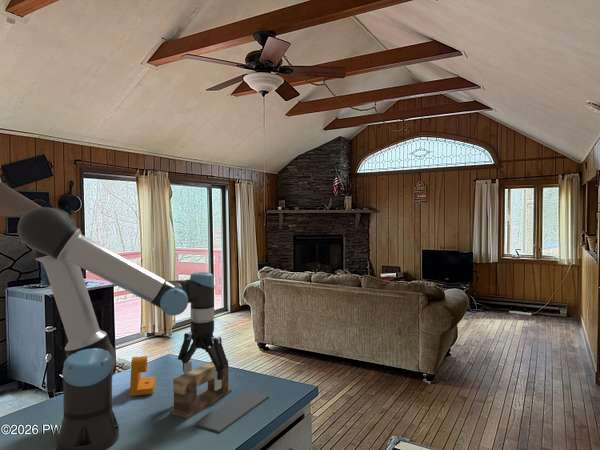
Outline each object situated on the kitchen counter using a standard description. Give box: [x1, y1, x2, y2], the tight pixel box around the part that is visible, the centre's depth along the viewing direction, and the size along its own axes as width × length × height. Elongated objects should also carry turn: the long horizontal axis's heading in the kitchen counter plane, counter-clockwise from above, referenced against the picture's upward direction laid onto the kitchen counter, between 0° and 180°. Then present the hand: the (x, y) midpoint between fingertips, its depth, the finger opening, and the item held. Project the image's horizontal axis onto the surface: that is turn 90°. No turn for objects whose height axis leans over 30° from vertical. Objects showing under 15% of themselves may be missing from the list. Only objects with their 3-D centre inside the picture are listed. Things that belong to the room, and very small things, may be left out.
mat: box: [194, 390, 270, 434], centre depth 128 cm, size 26×9×1 cm, turn 152°
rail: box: [172, 358, 229, 394], centre depth 134 cm, size 22×4×4 cm, turn 153°
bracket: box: [169, 366, 233, 419], centre depth 134 cm, size 22×7×10 cm, turn 153°
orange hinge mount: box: [129, 355, 157, 397], centre depth 143 cm, size 11×7×12 cm, turn 15°
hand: (202, 385), depth 134 cm, fingers open, 12 cm apart
